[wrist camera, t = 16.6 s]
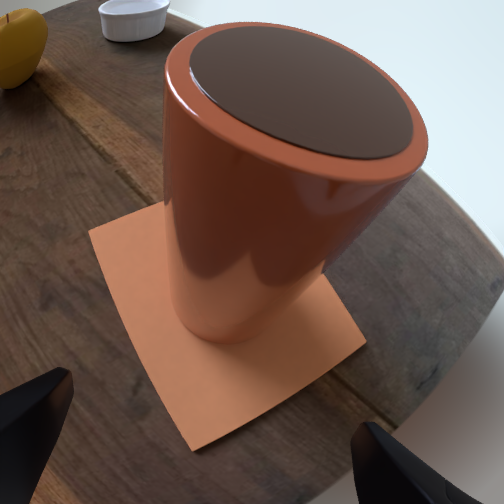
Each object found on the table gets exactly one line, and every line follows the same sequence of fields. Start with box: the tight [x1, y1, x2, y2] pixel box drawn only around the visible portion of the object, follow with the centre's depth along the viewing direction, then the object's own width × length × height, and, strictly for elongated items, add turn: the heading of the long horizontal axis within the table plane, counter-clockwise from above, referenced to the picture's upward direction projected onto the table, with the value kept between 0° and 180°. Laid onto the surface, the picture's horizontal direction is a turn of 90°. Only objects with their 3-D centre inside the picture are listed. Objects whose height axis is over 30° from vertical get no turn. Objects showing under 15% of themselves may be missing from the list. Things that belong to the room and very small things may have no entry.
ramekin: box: [99, 0, 170, 42], centre depth 29 cm, size 9×9×4 cm
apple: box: [0, 8, 48, 89], centre depth 20 cm, size 8×8×9 cm
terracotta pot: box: [162, 22, 428, 345], centre depth 12 cm, size 6×6×14 cm
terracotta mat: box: [88, 201, 367, 451], centre depth 18 cm, size 14×12×1 cm
